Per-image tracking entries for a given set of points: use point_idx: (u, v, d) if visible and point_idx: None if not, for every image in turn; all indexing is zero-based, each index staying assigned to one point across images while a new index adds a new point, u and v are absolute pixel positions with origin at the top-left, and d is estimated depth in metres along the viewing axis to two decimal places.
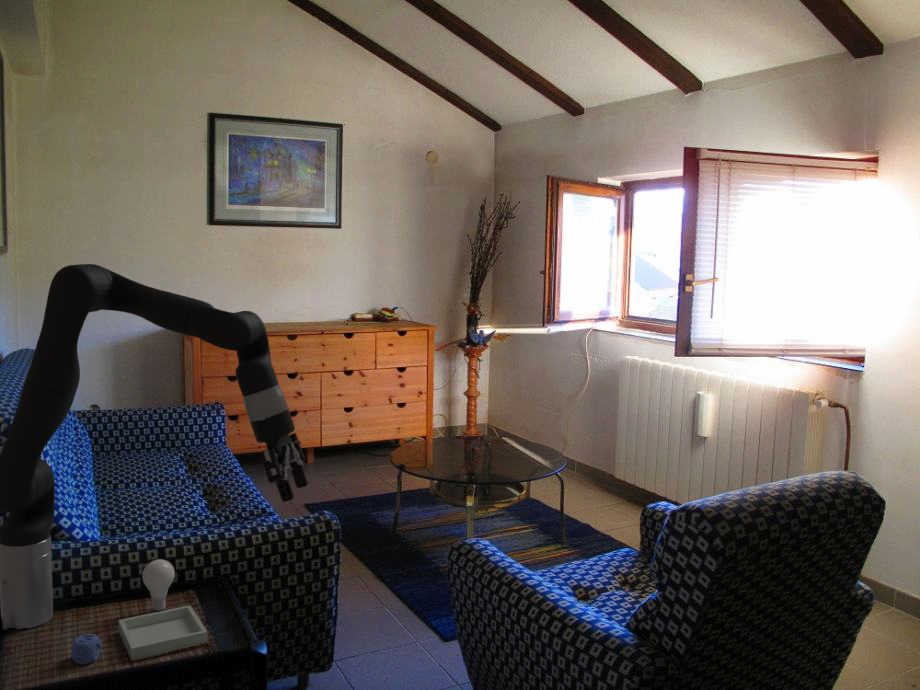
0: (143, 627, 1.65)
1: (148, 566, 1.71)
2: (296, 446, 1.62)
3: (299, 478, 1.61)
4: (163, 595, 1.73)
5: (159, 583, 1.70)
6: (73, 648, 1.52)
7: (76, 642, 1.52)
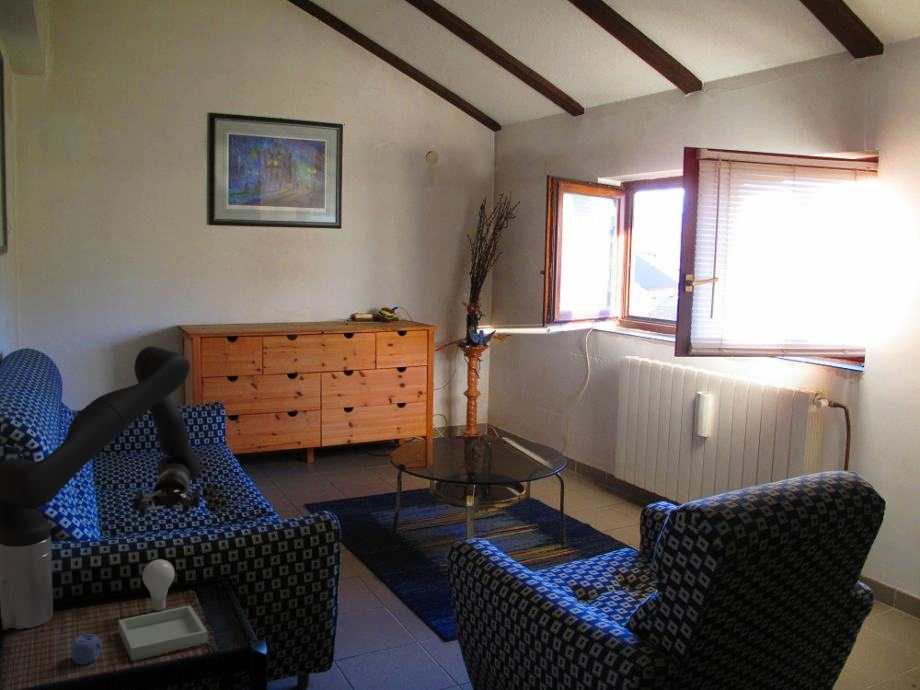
0: (143, 627, 1.65)
1: (148, 566, 1.71)
2: None
3: (146, 508, 1.83)
4: (163, 595, 1.73)
5: (159, 583, 1.70)
6: (73, 648, 1.52)
7: (76, 642, 1.52)
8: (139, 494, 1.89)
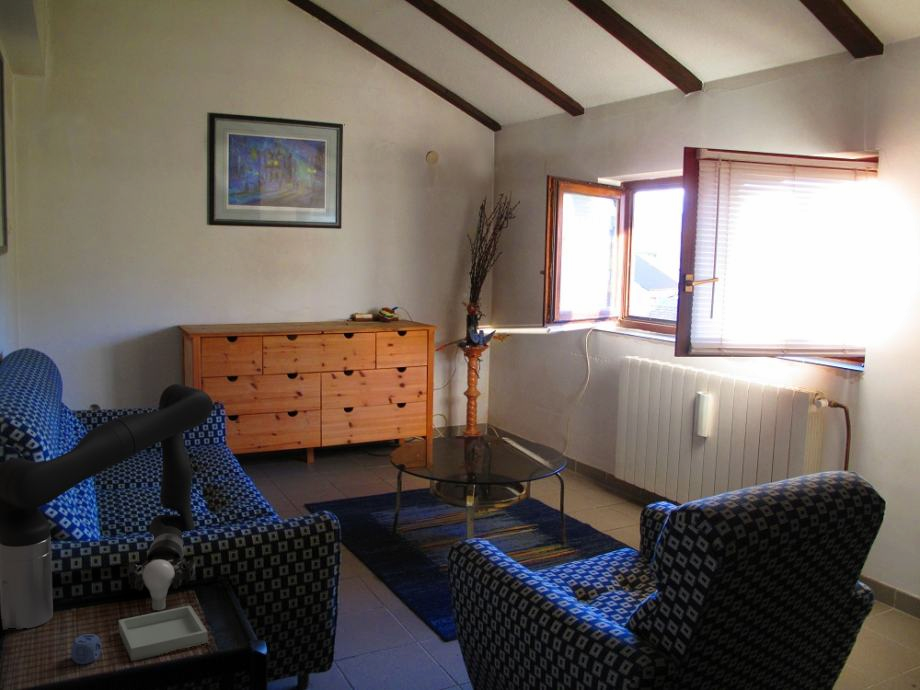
0: (143, 627, 1.65)
1: (148, 566, 1.71)
2: None
3: (142, 582, 1.72)
4: (163, 595, 1.73)
5: (158, 583, 1.70)
6: (73, 648, 1.52)
7: (76, 642, 1.52)
8: (132, 566, 1.77)
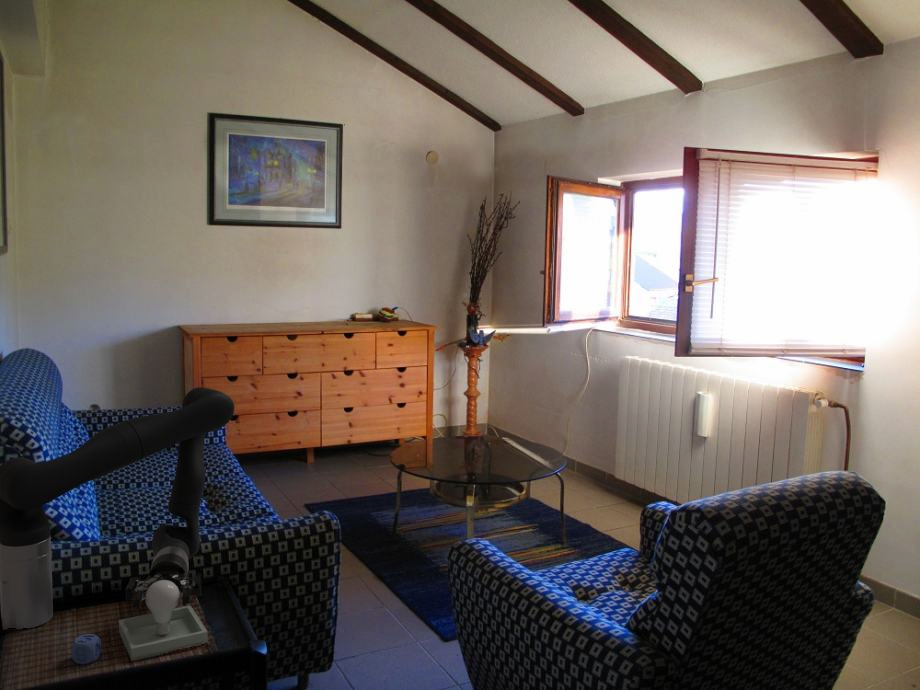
0: (143, 627, 1.65)
1: (151, 587, 1.60)
2: None
3: (140, 600, 1.61)
4: (167, 618, 1.61)
5: (163, 605, 1.59)
6: (73, 648, 1.51)
7: (76, 642, 1.52)
8: (132, 581, 1.66)
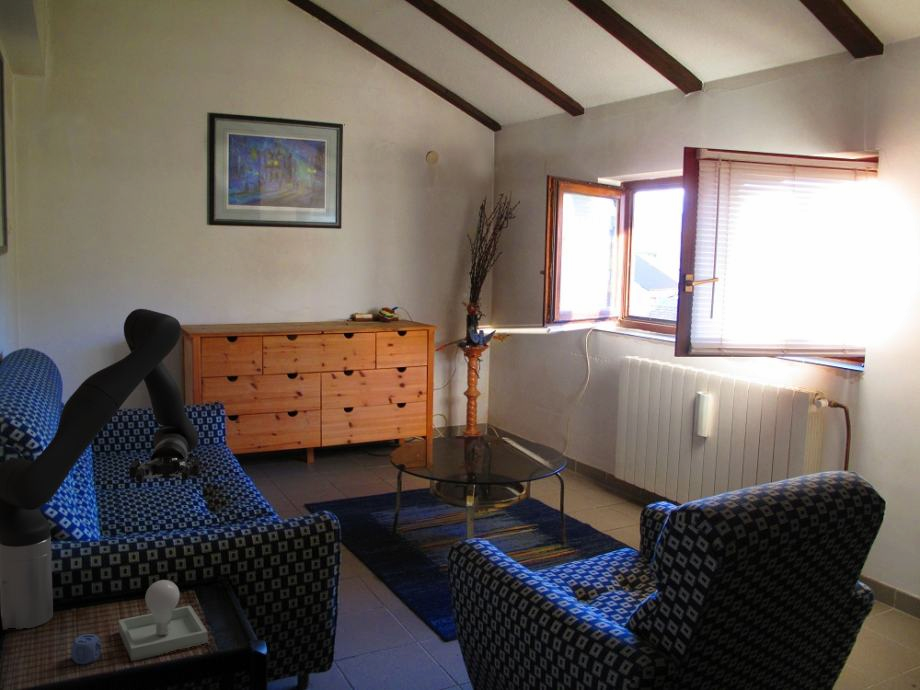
0: (143, 627, 1.65)
1: (151, 587, 1.60)
2: None
3: (143, 476, 1.74)
4: (167, 618, 1.61)
5: (163, 605, 1.59)
6: (73, 648, 1.51)
7: (76, 642, 1.52)
8: (135, 462, 1.79)
